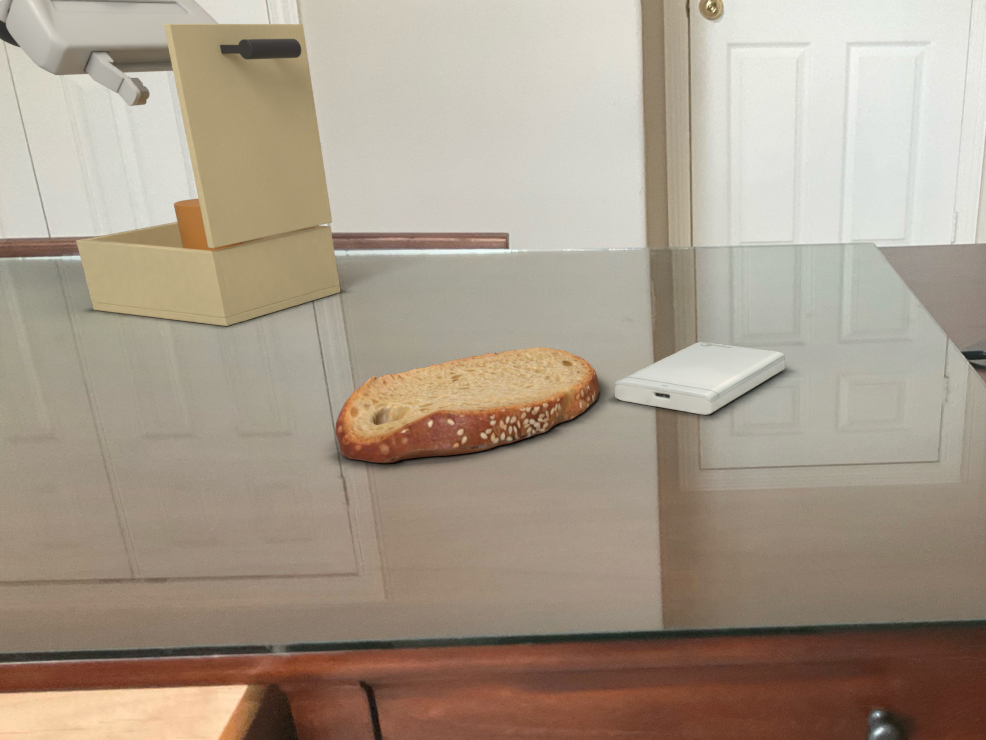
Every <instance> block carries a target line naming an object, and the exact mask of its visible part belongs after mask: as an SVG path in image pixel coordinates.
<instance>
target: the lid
mask: <svg viewBox="0 0 986 740" xmlns="http://www.w3.org/2000/svg"><path fill="white" fill-rule="evenodd" d="M164 28H165V33H166V38H167V43H168V48H169V53H170V58H171V63H172V68H173V71H172V73H173V77H174V82H175V88H176V92H177V98H178V102H179V107H180V114H181V117H182V123H183V127H184V132H185V133H184V134H185V138H186V143H187V149H188V154H189V158H190V162H191V168H192V173H193V178H194V183H195V187H196V194H197V197H198V198H197V199H199V203H200V208H201V213H202V219H203V224H204V229H205V234H206V239H207V244H208V248H217V247H222V246H226V245H231V244H236V243H240V242H245V241H249V240H254V239H259V238H263V237H268V236H272V235H277V234H281V233H286V232H291V231H295V230H300V229H304V228H309V227H314V226H318V225H319V226H324V225H326V224H327V225H328V224H331V223H333V217H332V211H331V204H330V198H329V192H328V184H327V177H326V171H325V164H324V158H323V149H322V143H321V137H320V131H319V125H318V117H317V111H316V104H315V98H314V91H313V85H312V77H311V69H310V63H309V58H308V50H307V44H306V38H305V30H304V24H302V23H218V24H164Z"/></svg>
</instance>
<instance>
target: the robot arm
mask: <svg viewBox="0 0 986 740" xmlns="http://www.w3.org/2000/svg"><path fill="white" fill-rule="evenodd" d="M164 24H219V23H218V21H217V20H216V19H215V18H214V17H213V16H212V15H211V14H209V13H208V12H207V10H205V8H203V6H201V5H200V4H199V3H198V2H196V1H195V0H0V40H1V41H3V42H5V43H7V44H9V45H12V46H14V47H17V48H21V50H22V51H24V53H25V55H27V57H28V58H29V59H30V60H31V61H32V62H33V63H34V64H35V65H36V66H38V67H39V69H42V70H44V71H46V72H48V73H50V74H52V75H55V76H69V75H70V76H73V75H89V76H90V77H91V79H92V80H93V81H94V82H96V83H98V84H99V85H101V86H102V87H105V88H107V89H108V90H110V91H112V92H114V93H115V94H118V96H120V97H121V99H122V100H123V102H125V103H126V104H127V105H128V106H130V107H135V106H145V105H146V104H147V102H148V101H147V100H148V99H149V97H150V91H149V88H148V87H146V86H145V85H144V83H143V81H141V79H140V78H139V77H130V76H129V75H127V73H128V74H129V73H153V72H173V68H172V63H171V58H170V53H169V48H168V43H167V38H166V33H165V28H164Z"/></svg>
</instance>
